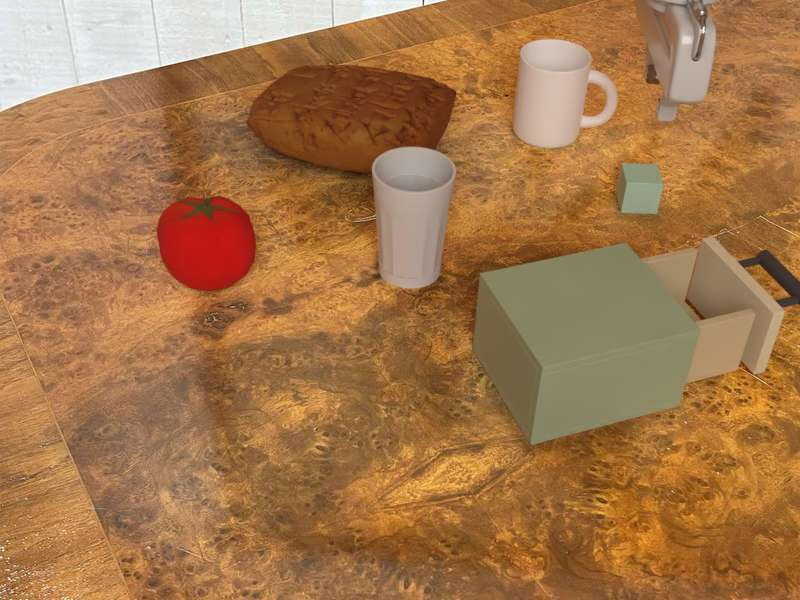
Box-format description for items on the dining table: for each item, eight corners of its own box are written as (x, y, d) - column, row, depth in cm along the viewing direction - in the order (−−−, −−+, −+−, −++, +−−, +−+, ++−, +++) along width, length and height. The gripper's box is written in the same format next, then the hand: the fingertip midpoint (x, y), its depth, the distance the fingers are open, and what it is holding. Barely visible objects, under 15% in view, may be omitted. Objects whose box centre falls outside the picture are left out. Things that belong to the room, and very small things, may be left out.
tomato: (227, 317, 102) (220, 247, 96) (138, 285, 105) (127, 215, 99) (277, 263, 108) (273, 195, 103) (192, 235, 111) (184, 167, 106)
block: (651, 193, 120) (657, 163, 117) (657, 214, 117) (664, 184, 114) (615, 192, 120) (621, 162, 117) (620, 213, 117) (626, 182, 114)
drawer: (742, 285, 106) (760, 225, 102) (812, 359, 98) (836, 298, 93) (574, 323, 101) (584, 263, 96) (634, 406, 93) (649, 344, 88)
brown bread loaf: (465, 137, 128) (470, 77, 123) (410, 212, 116) (413, 149, 111) (301, 96, 134) (299, 37, 129) (232, 163, 122) (227, 101, 117)
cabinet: (610, 317, 103) (626, 242, 97) (679, 406, 94) (701, 329, 88) (472, 349, 99) (479, 273, 93) (530, 445, 90) (542, 367, 84)
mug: (613, 125, 131) (628, 48, 124) (606, 160, 125) (621, 81, 118) (517, 110, 133) (526, 34, 126) (505, 144, 127) (514, 66, 120)
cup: (354, 264, 108) (354, 164, 101) (413, 235, 112) (418, 137, 105) (405, 304, 104) (409, 203, 96) (465, 273, 108) (474, 173, 100)
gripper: (743, 19, 93) (709, 154, 102) (697, -70, 109) (671, 54, 117) (671, 16, 93) (643, 152, 102) (635, -72, 109) (614, 52, 117)
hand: (658, 99), depth 110 cm, fingers open, 6 cm apart
